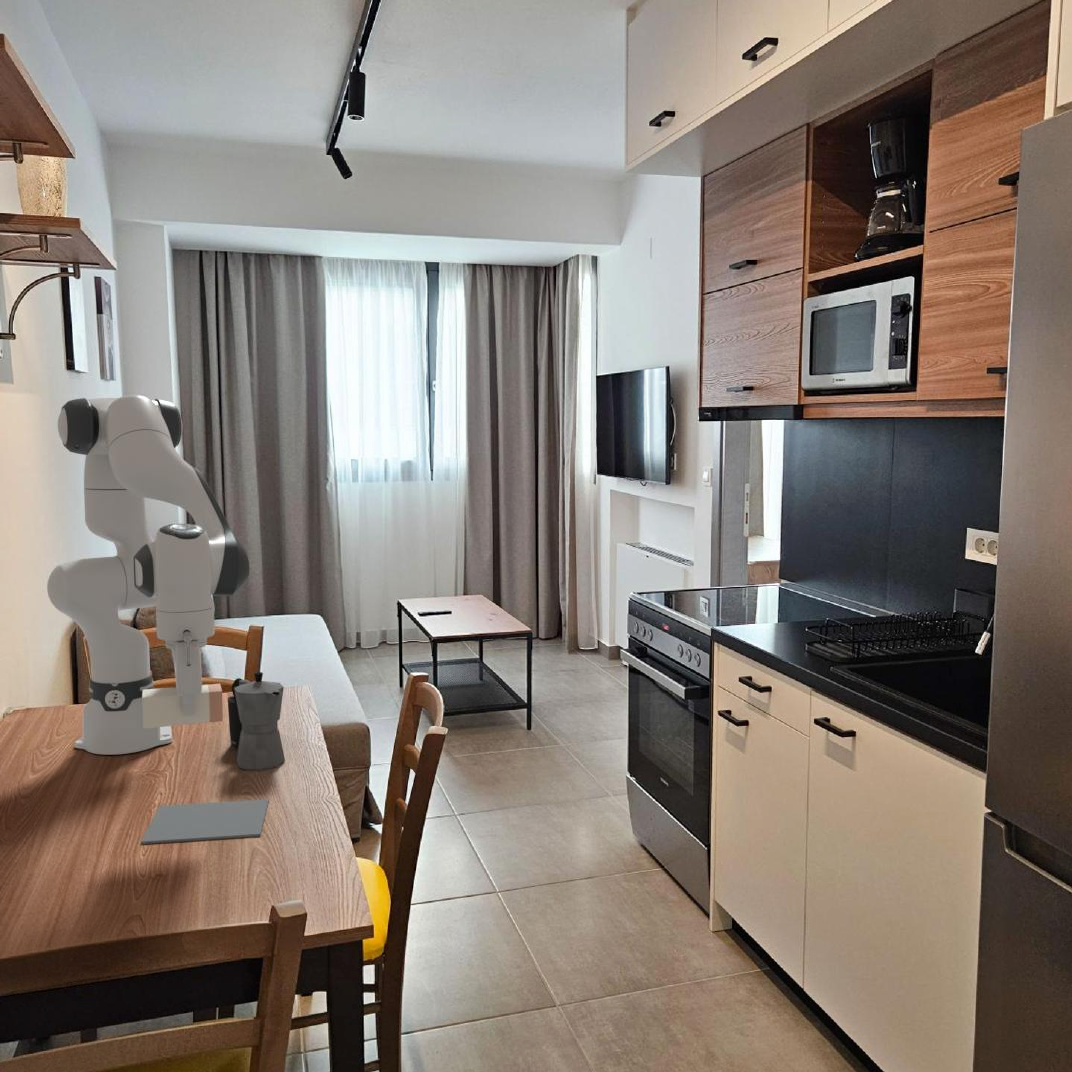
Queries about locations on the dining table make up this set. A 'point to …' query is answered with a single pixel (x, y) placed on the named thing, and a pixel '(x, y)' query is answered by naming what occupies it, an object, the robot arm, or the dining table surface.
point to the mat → (207, 821)
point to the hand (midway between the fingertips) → (188, 709)
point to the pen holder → (234, 723)
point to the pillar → (180, 707)
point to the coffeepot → (258, 723)
